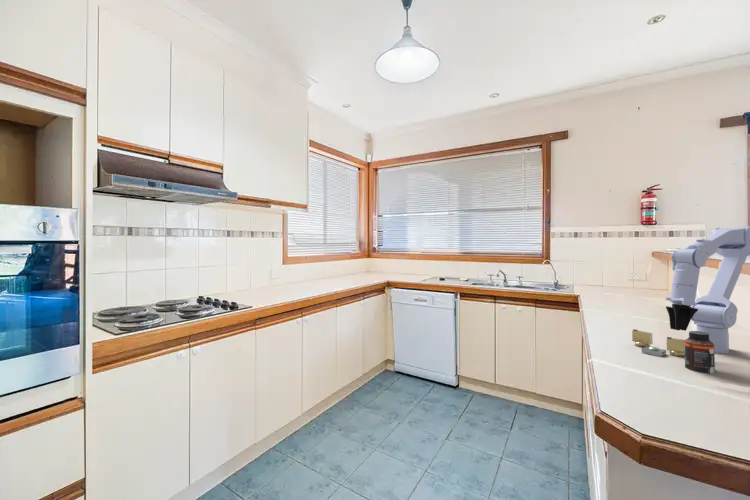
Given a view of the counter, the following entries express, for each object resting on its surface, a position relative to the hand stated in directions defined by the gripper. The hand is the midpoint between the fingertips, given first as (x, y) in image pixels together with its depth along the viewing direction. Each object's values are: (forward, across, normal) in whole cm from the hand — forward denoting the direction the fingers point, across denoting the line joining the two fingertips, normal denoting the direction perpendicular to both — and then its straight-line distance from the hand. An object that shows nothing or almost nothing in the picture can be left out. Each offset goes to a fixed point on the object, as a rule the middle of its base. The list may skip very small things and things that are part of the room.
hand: (677, 329), depth 103 cm
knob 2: (+8, -3, +2) cm, 8 cm away
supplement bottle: (+11, +9, +4) cm, 15 cm away
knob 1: (+7, -10, -7) cm, 14 cm away
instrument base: (+9, -5, -3) cm, 11 cm away
